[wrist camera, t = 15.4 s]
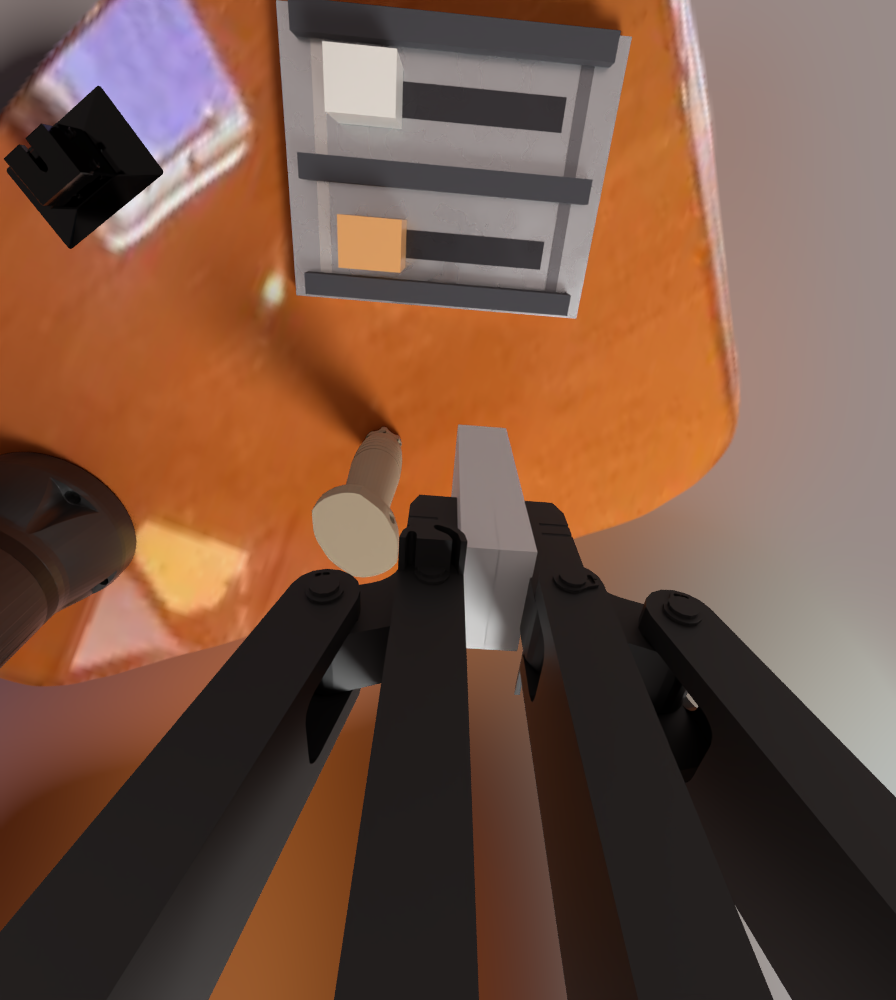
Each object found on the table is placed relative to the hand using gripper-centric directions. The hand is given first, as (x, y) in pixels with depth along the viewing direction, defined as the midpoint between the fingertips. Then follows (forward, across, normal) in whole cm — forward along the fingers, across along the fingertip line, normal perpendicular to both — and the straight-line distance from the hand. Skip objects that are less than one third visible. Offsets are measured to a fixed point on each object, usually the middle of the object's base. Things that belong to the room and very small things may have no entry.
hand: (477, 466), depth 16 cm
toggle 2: (+25, -7, +5) cm, 26 cm away
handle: (+27, -6, -11) cm, 29 cm away
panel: (+26, -2, +9) cm, 28 cm away
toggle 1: (+25, -7, +13) cm, 29 cm away
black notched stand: (+27, -27, +8) cm, 39 cm away
